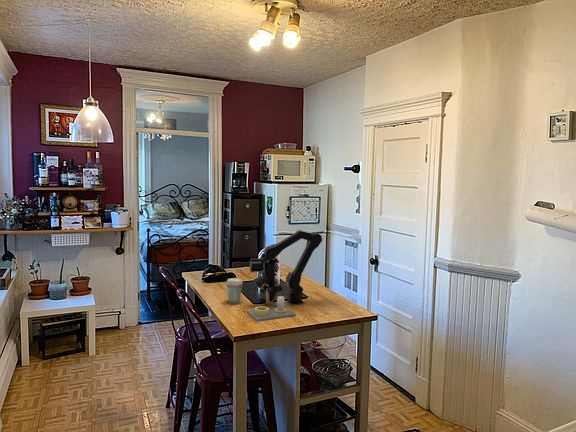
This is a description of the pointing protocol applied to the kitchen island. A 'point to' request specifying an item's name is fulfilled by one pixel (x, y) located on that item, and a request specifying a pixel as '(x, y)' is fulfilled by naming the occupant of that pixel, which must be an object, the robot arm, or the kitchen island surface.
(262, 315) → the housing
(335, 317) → the kitchen island surface
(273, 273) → the robot arm
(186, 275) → the kitchen island surface
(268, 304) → the brown peg
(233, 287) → the coffee cup
